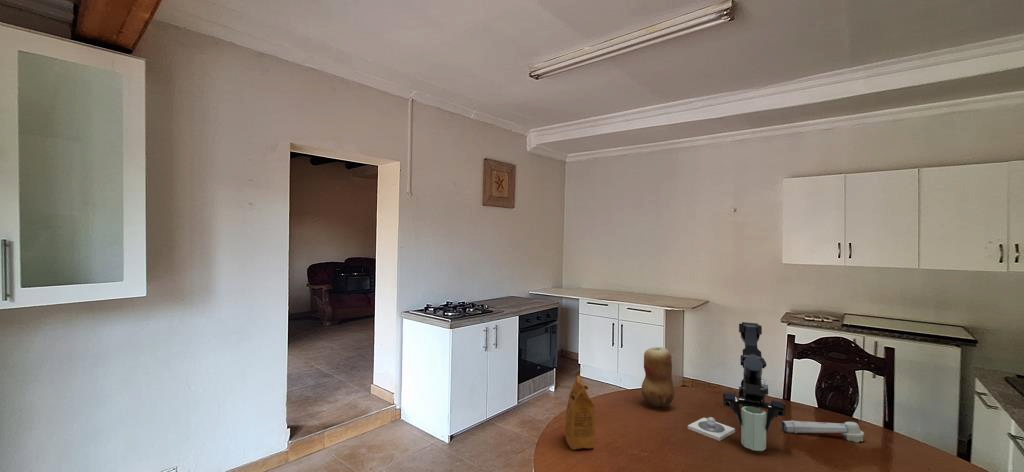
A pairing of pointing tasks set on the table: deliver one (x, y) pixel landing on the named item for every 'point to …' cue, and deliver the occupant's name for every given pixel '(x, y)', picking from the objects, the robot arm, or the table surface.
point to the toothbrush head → (825, 428)
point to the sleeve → (753, 428)
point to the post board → (711, 428)
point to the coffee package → (580, 418)
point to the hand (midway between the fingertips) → (753, 427)
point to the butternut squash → (658, 377)
